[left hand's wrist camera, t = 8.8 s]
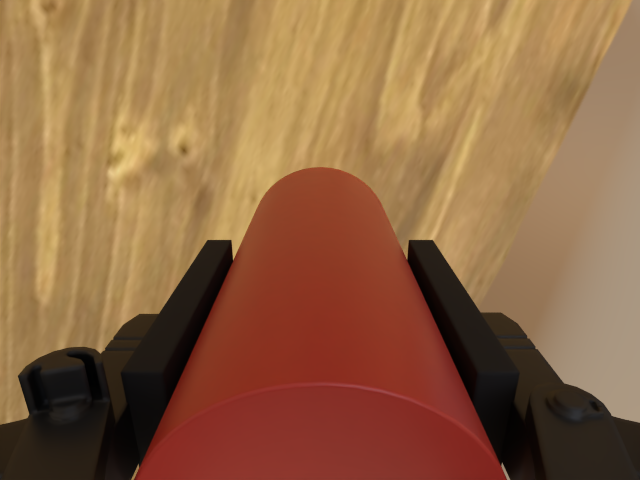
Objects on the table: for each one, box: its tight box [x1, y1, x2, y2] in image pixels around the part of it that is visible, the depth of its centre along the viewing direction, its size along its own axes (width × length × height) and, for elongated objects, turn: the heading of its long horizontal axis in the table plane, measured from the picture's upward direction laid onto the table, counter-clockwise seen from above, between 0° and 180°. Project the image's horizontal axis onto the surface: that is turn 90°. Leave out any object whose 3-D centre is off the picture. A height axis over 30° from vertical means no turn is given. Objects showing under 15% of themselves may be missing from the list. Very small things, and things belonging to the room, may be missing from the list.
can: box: [134, 167, 507, 480], centre depth 12 cm, size 6×6×13 cm
